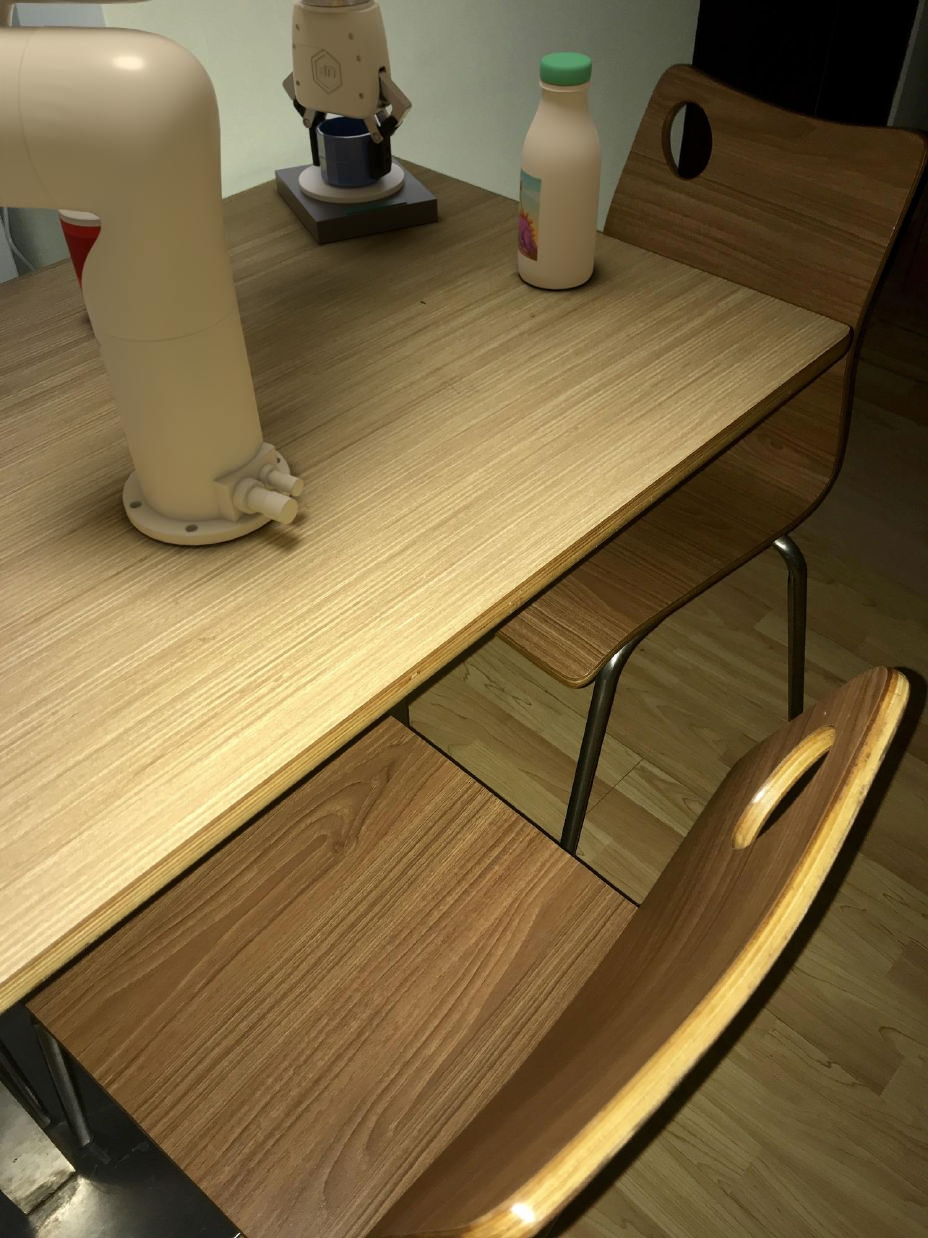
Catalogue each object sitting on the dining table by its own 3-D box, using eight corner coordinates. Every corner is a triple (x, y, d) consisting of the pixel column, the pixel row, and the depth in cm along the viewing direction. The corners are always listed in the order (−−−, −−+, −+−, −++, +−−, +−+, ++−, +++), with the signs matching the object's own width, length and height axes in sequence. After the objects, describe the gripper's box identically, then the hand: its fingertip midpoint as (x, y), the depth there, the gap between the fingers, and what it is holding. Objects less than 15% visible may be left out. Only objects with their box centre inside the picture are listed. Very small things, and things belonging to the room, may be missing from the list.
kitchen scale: (438, 220, 111) (437, 191, 109) (319, 244, 107) (315, 214, 105) (387, 171, 122) (385, 144, 120) (277, 191, 118) (273, 163, 116)
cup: (397, 172, 113) (394, 121, 109) (360, 194, 109) (356, 141, 105) (345, 161, 116) (341, 110, 112) (308, 182, 112) (302, 130, 108)
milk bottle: (598, 261, 104) (616, 47, 89) (585, 295, 98) (601, 74, 84) (526, 253, 105) (533, 42, 91) (509, 286, 100) (513, 68, 86)
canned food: (153, 337, 94) (123, 221, 86) (75, 330, 95) (39, 215, 87) (185, 299, 99) (160, 187, 91) (111, 292, 100) (80, 181, 92)
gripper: (244, -15, 100) (270, 165, 113) (386, 6, 94) (397, 195, 106) (290, -31, 105) (311, 144, 117) (429, -12, 98) (435, 172, 111)
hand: (352, 167), depth 112 cm, fingers closed on cup, 7 cm apart
